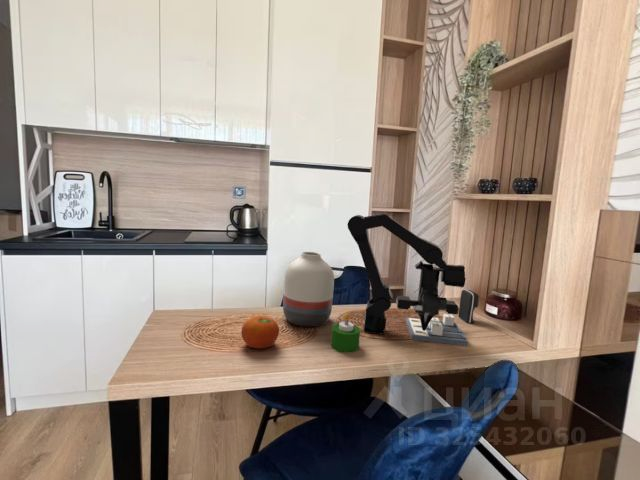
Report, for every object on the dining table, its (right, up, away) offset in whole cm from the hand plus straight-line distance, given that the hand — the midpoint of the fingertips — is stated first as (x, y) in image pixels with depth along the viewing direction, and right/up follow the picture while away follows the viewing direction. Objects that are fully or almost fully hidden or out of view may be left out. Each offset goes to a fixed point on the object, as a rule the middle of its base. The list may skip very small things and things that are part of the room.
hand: (423, 330), depth 115 cm
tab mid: (+5, 0, +5) cm, 6 cm away
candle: (-26, -2, -10) cm, 28 cm away
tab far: (+11, 0, +9) cm, 14 cm away
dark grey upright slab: (+22, -1, +20) cm, 30 cm away
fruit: (-51, -1, -14) cm, 53 cm away
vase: (-38, +1, +8) cm, 39 cm away
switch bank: (+5, -2, +5) cm, 7 cm away
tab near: (+4, -1, 0) cm, 4 cm away
